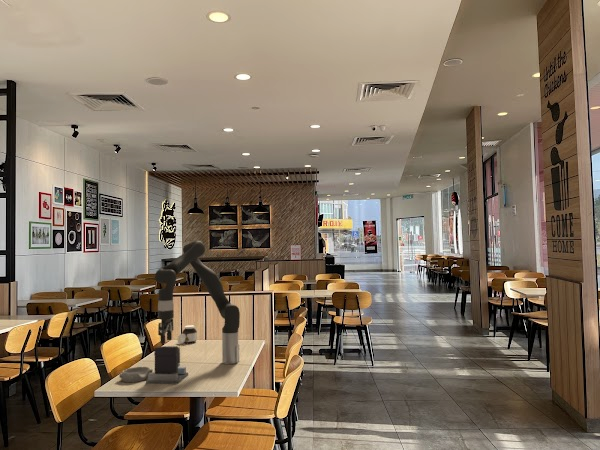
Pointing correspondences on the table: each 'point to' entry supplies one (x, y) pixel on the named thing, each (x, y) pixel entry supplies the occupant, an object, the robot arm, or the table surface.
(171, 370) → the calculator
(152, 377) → the vise
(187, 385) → the table surface
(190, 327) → the spread jar
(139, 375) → the dish
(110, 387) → the table surface
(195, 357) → the table surface
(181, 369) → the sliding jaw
